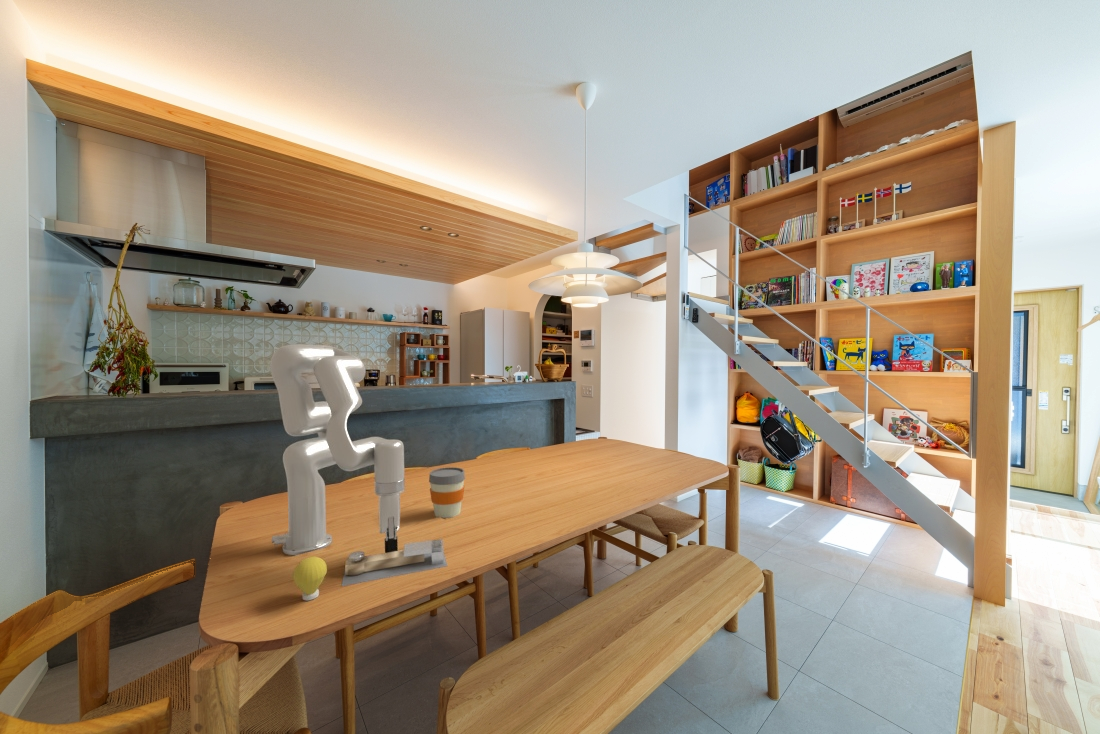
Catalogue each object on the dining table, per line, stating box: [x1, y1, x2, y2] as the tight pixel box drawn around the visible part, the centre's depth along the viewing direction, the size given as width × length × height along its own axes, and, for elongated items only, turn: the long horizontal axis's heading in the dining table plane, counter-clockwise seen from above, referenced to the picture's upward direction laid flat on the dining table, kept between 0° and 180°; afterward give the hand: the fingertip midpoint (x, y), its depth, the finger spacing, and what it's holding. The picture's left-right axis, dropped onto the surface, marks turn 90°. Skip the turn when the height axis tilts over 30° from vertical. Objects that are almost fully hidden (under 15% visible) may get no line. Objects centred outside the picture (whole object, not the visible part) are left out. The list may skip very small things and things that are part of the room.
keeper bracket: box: [403, 538, 444, 565], centre depth 109 cm, size 10×5×4 cm, turn 106°
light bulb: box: [292, 556, 328, 601], centre depth 93 cm, size 7×7×10 cm
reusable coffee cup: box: [428, 466, 466, 519], centre depth 145 cm, size 13×13×15 cm
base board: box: [340, 550, 448, 587], centre depth 108 cm, size 25×14×1 cm, turn 111°
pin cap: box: [348, 550, 365, 562], centre depth 104 cm, size 4×4×1 cm
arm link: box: [344, 549, 424, 575], centre depth 106 cm, size 19×5×2 cm, turn 110°
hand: (391, 552), depth 110 cm, fingers closed
